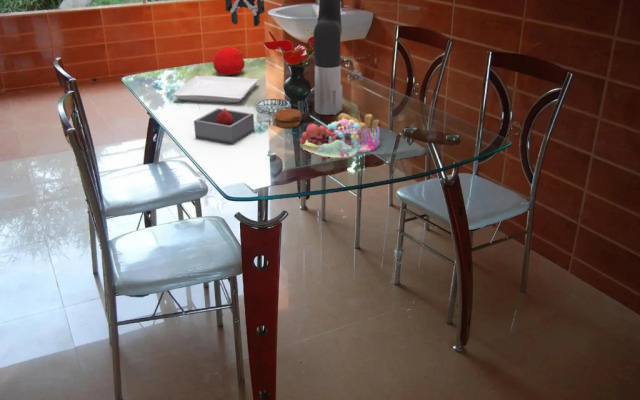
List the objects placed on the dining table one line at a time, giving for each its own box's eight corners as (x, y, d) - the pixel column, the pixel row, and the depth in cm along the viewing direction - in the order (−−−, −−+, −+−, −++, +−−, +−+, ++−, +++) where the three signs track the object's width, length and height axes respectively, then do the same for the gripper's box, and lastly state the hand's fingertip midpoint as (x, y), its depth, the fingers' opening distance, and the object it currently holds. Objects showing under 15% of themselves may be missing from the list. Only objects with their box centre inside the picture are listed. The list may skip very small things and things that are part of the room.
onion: (230, 135, 210) (229, 111, 206) (214, 134, 211) (212, 110, 207) (236, 129, 215) (235, 106, 211) (220, 128, 216) (218, 105, 212)
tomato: (219, 84, 275) (245, 79, 283) (226, 63, 266) (253, 59, 273) (206, 63, 280) (232, 59, 287) (213, 41, 270) (240, 38, 278)
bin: (254, 130, 216) (253, 113, 213) (232, 144, 205) (230, 127, 202) (219, 124, 221) (217, 108, 219) (195, 138, 210) (193, 120, 207)
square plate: (242, 107, 239) (241, 97, 238) (172, 103, 243) (171, 93, 242) (259, 86, 263) (259, 77, 262) (195, 83, 267) (195, 74, 265)
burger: (287, 130, 217) (287, 117, 215) (268, 124, 223) (268, 111, 220) (308, 123, 223) (308, 110, 221) (289, 117, 229) (289, 104, 227)
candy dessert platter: (321, 127, 220) (321, 101, 216) (387, 136, 212) (389, 110, 208) (292, 153, 199) (291, 125, 195) (364, 164, 191) (365, 135, 187)
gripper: (267, -24, 218) (268, 24, 225) (231, -26, 223) (234, 21, 231) (255, -21, 212) (258, 28, 219) (219, -24, 217) (222, 25, 224)
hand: (245, 25), depth 225 cm, fingers open, 8 cm apart
